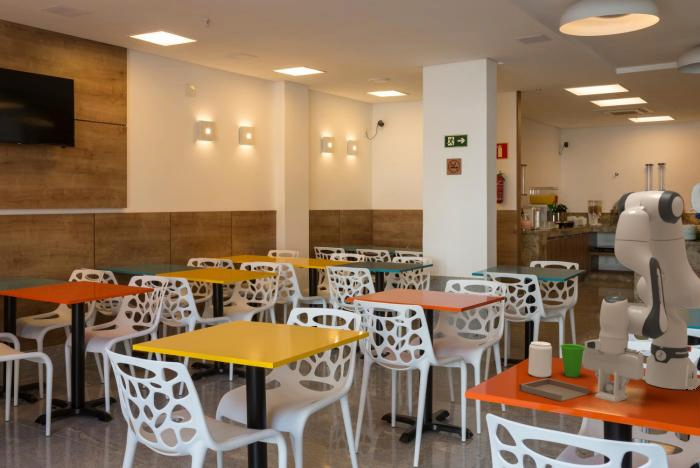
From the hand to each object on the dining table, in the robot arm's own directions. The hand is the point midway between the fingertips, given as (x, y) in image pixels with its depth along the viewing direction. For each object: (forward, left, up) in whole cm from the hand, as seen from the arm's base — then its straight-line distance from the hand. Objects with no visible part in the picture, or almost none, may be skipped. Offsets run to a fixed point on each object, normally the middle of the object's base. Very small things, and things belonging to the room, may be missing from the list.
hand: (611, 387), depth 223 cm
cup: (-16, -25, -4) cm, 30 cm away
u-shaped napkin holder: (0, 0, -3) cm, 3 cm away
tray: (+10, -15, -3) cm, 18 cm away
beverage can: (-6, -32, -4) cm, 33 cm away
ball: (-1, 0, 0) cm, 1 cm away
